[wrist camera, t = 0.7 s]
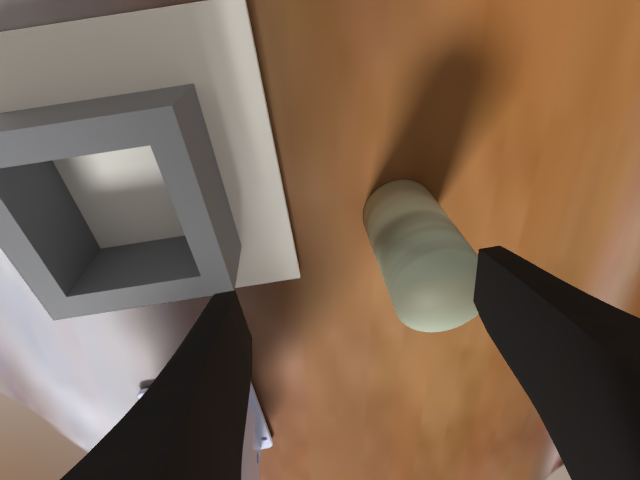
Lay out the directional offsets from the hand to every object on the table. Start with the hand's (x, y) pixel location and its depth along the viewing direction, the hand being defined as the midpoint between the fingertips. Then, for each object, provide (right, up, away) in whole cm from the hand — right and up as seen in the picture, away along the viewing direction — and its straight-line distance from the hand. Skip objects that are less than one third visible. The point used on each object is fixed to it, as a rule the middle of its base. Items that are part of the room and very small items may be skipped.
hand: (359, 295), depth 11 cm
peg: (+3, +3, +10) cm, 11 cm away
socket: (-10, +4, +7) cm, 13 cm away
